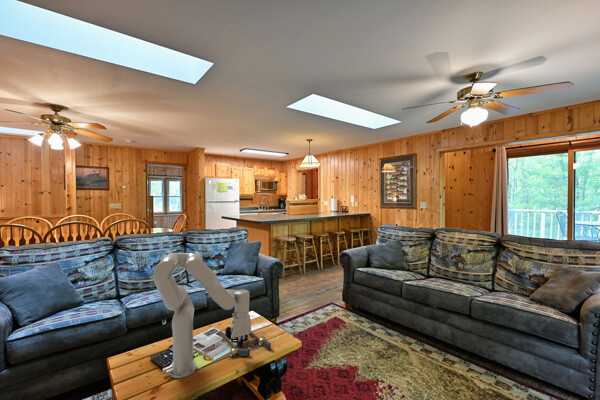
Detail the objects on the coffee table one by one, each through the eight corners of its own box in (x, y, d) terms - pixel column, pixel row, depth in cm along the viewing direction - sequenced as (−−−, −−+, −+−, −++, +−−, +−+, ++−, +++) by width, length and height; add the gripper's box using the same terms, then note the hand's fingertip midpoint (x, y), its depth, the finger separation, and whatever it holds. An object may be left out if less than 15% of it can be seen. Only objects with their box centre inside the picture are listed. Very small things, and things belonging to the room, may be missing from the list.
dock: (233, 351, 151) (233, 346, 150) (219, 335, 168) (219, 330, 168) (258, 342, 160) (258, 337, 160) (242, 327, 178) (242, 323, 178)
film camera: (252, 334, 169) (251, 321, 169) (246, 343, 160) (246, 328, 159) (230, 332, 172) (229, 319, 172) (223, 340, 162) (223, 326, 162)
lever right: (257, 342, 159) (257, 337, 159) (263, 340, 162) (263, 334, 162) (266, 351, 150) (266, 345, 150) (273, 348, 153) (273, 342, 153)
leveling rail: (229, 359, 144) (229, 358, 144) (227, 356, 147) (227, 354, 147) (269, 343, 159) (269, 342, 159) (266, 340, 162) (266, 339, 162)
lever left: (228, 356, 146) (228, 349, 146) (232, 351, 150) (232, 345, 150) (248, 358, 144) (248, 351, 144) (251, 353, 148) (251, 347, 148)
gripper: (231, 319, 136) (229, 354, 136) (257, 312, 145) (255, 345, 145) (225, 313, 142) (224, 347, 142) (250, 307, 151) (249, 339, 151)
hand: (240, 346), depth 143 cm, fingers closed
